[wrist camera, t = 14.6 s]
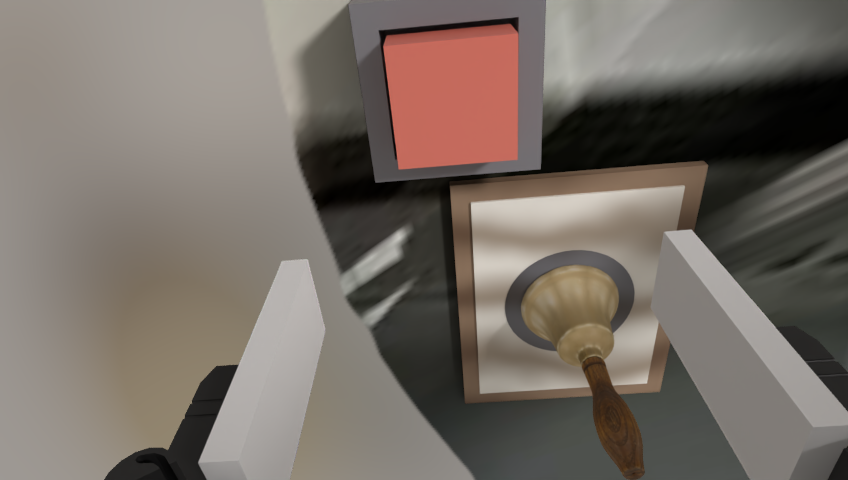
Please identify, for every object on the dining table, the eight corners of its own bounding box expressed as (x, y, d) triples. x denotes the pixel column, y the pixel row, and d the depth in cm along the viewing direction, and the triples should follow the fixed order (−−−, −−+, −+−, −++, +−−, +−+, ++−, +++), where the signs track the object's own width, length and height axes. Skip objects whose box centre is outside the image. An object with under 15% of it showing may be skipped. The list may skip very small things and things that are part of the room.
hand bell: (639, 289, 44) (735, 456, 30) (576, 352, 48) (636, 525, 34) (561, 247, 42) (626, 407, 28) (501, 316, 45) (534, 487, 32)
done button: (386, 35, 30) (383, 46, 28) (510, 23, 30) (518, 33, 27) (400, 150, 34) (398, 169, 32) (510, 141, 34) (517, 159, 31)
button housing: (356, -6, 33) (348, 4, 29) (531, -23, 32) (546, -15, 28) (380, 156, 39) (375, 182, 35) (529, 143, 38) (540, 169, 34)
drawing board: (449, 181, 40) (450, 187, 39) (703, 160, 39) (709, 166, 38) (464, 397, 52) (465, 405, 51) (656, 385, 51) (660, 393, 50)
